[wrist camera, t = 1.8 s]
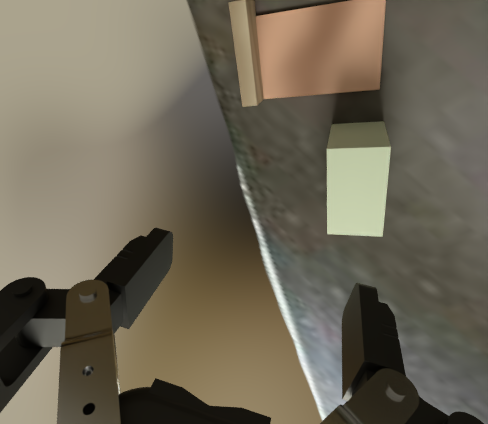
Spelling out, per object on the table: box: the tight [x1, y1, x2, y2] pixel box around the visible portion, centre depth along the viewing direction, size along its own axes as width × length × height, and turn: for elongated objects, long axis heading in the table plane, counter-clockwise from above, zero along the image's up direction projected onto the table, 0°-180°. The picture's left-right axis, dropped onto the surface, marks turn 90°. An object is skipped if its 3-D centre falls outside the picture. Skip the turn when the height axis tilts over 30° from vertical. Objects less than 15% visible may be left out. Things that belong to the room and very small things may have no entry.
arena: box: [229, 0, 386, 107], centre depth 22 cm, size 10×10×2 cm
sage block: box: [327, 121, 391, 237], centre depth 25 cm, size 4×7×6 cm, turn 8°
